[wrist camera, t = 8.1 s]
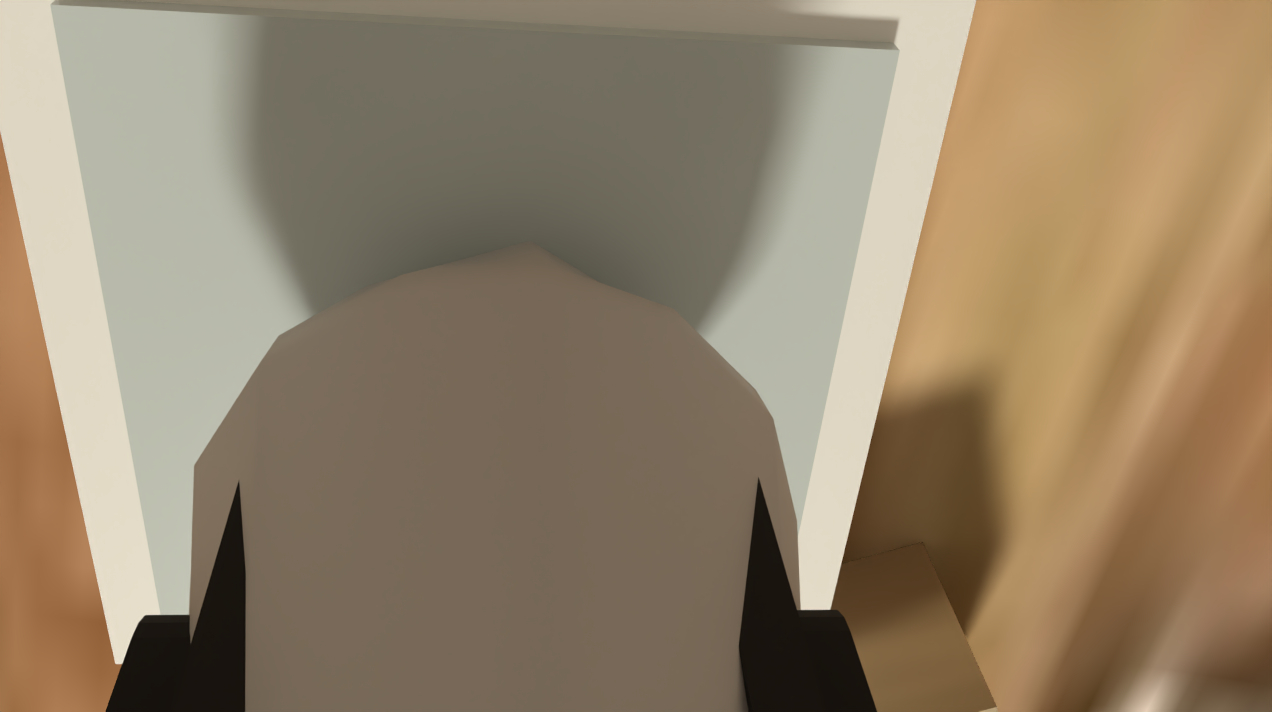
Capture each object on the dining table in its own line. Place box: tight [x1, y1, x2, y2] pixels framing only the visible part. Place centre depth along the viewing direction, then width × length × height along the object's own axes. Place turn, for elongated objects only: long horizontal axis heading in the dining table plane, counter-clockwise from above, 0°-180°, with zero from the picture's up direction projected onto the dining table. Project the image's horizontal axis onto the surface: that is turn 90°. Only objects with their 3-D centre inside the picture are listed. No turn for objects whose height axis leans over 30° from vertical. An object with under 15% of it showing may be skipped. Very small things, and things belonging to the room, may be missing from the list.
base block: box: [0, 0, 976, 664], centre depth 16 cm, size 10×10×4 cm
